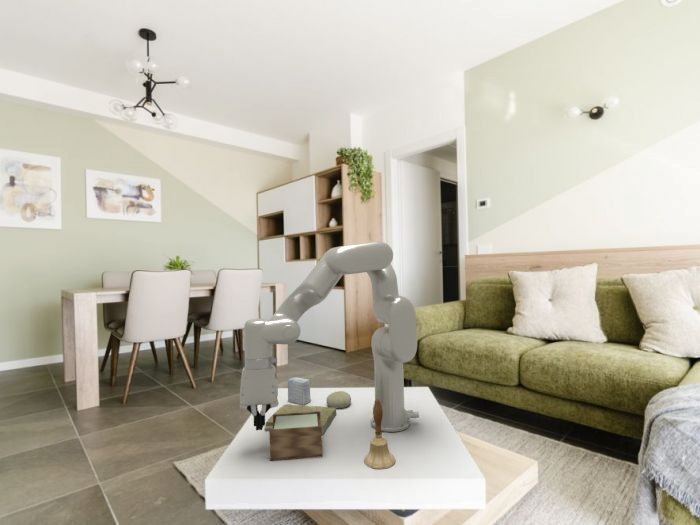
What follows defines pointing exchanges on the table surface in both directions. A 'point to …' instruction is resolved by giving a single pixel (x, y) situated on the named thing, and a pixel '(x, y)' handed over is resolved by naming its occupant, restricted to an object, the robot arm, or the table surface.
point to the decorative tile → (325, 412)
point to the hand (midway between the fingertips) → (259, 428)
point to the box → (296, 440)
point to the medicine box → (299, 390)
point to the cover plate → (296, 421)
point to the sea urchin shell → (338, 399)
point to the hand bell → (379, 444)
